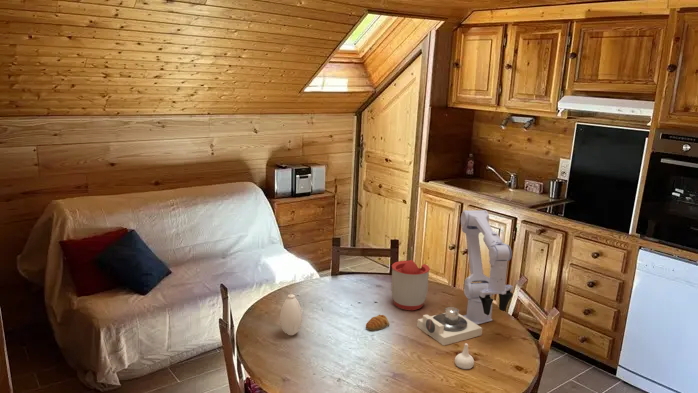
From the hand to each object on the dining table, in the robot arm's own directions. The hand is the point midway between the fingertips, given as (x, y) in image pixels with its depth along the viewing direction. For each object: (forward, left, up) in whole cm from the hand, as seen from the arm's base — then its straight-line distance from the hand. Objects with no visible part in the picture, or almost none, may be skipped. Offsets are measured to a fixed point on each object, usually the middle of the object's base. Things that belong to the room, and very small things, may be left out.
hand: (494, 312), depth 191 cm
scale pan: (+11, -11, -7) cm, 17 cm away
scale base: (+11, -11, -10) cm, 19 cm away
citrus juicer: (+11, -37, -11) cm, 40 cm away
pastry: (+34, -26, -11) cm, 44 cm away
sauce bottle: (+66, -34, -11) cm, 75 cm away
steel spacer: (+11, -11, -7) cm, 16 cm away
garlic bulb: (+22, +10, -11) cm, 26 cm away
